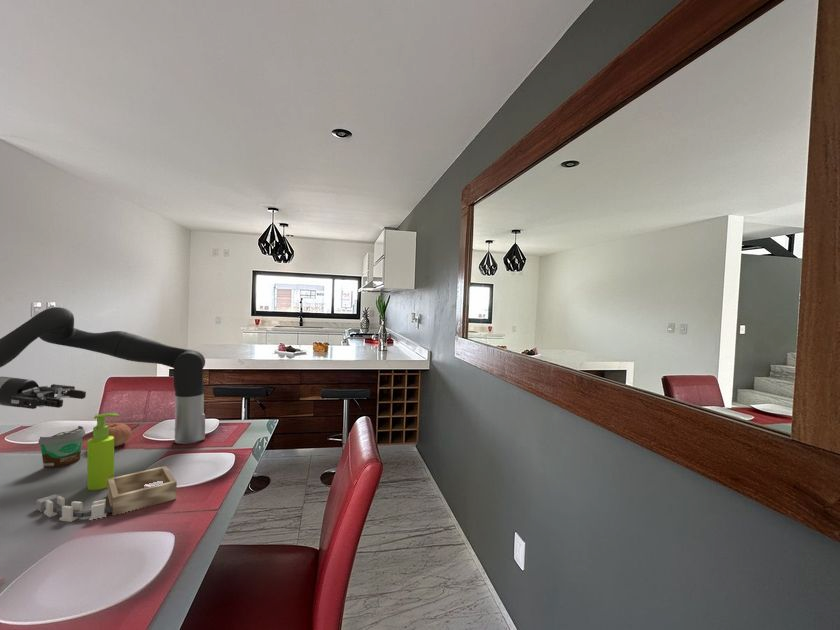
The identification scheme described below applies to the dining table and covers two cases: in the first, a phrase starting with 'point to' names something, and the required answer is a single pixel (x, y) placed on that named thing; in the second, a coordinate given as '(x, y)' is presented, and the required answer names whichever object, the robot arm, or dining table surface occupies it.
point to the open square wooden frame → (141, 490)
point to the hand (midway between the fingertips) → (73, 399)
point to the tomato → (119, 433)
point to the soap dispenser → (100, 454)
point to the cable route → (71, 508)
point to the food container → (62, 448)
